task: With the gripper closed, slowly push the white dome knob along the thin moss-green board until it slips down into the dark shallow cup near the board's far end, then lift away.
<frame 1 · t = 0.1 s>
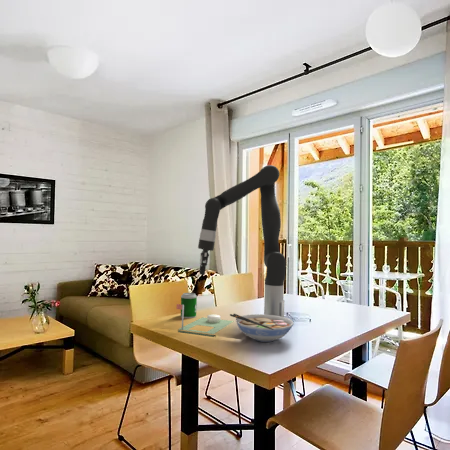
hand: (201, 273, 166), 22 cm above the table, tool pointing down, fingers open, 8 cm apart
ramen bowl: (263, 340, 138), on the table
soda can: (188, 319, 169), on the table
putting board: (207, 327, 153), on the table
white dome knob: (213, 321, 160), point 1 cm above the table, touching putting board
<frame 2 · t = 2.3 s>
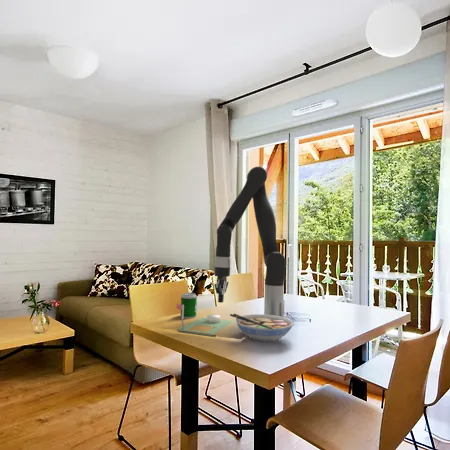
hand: (220, 302, 168), 8 cm above the table, tool pointing down, fingers closed
nothing on the table moved.
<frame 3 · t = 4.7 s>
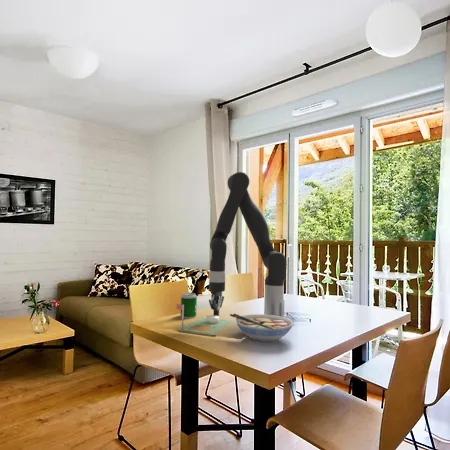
hand: (216, 318, 163), 2 cm above the table, tool pointing down, fingers closed
white dome knob: (212, 322, 158), point 1 cm above the table, touching gripper, putting board
everything else where it was.
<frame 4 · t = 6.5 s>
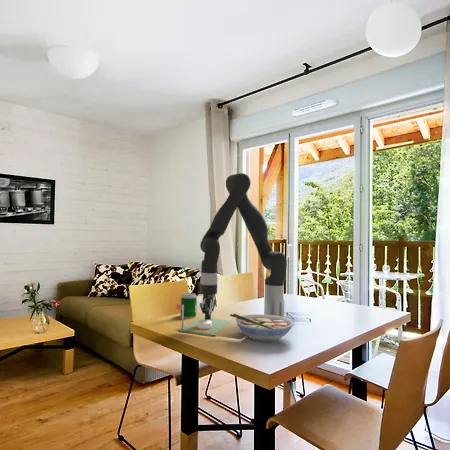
hand: (207, 322, 154), 2 cm above the table, tool pointing down, fingers closed
white dome knob: (205, 327, 150), point 1 cm above the table, tilted 13°, touching gripper, putting board
everything else where it was.
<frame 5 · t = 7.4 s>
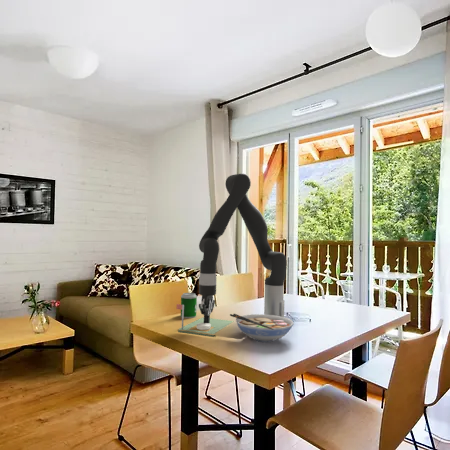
hand: (206, 323, 152), 2 cm above the table, tool pointing down, fingers closed
white dome knob: (203, 330, 148), resting on putting board
everything else where it was.
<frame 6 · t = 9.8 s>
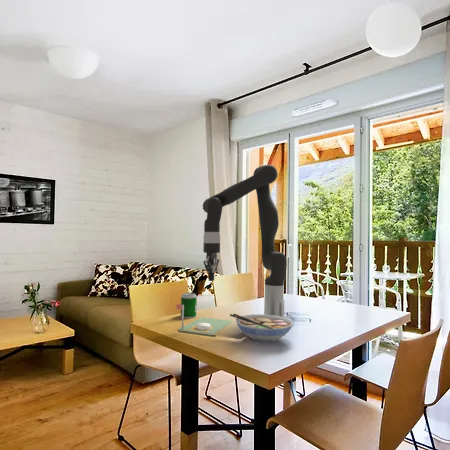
hand: (211, 280, 157), 20 cm above the table, tool pointing down, fingers closed
nothing on the table moved.
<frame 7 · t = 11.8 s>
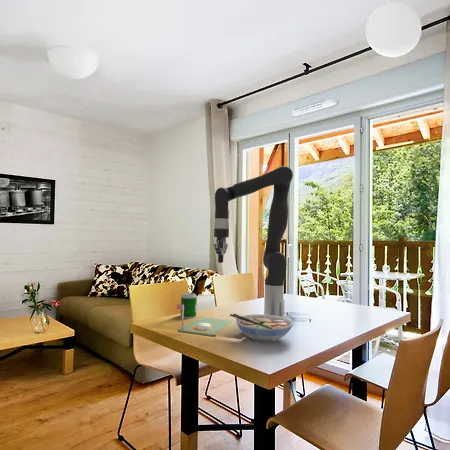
hand: (220, 262, 175), 27 cm above the table, tool pointing down, fingers closed
nothing on the table moved.
at the end: white dome knob 0.9 cm from the target spot on the putting board, point 0.1 cm above the putting board's base; soda can moved 0.2 cm from its start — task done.
